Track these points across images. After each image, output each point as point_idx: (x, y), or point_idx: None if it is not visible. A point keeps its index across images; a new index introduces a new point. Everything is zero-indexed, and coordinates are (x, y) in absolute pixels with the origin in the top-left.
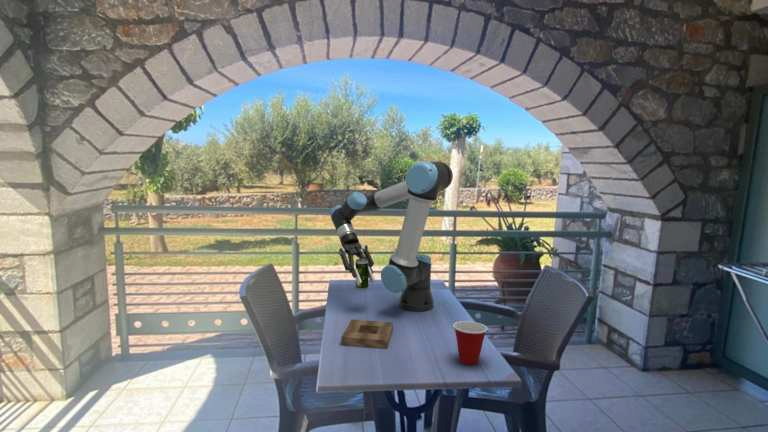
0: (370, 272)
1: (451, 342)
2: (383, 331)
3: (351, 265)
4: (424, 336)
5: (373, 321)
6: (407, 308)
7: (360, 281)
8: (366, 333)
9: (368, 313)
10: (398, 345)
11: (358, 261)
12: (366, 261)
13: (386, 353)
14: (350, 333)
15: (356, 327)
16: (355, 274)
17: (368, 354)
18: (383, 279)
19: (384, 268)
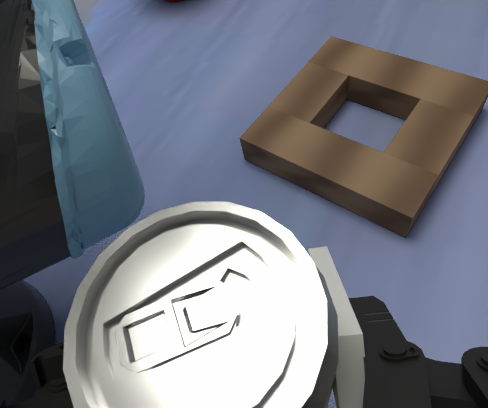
0: None
1: (142, 54)
2: (315, 84)
3: (426, 378)
4: (180, 95)
5: (314, 166)
6: (48, 317)
7: (322, 248)
8: (384, 85)
9: None
10: (287, 69)
11: (304, 251)
12: (154, 228)
13: None
14: (450, 97)
15: (410, 135)
16: (358, 309)
17: (399, 47)
18: (134, 165)
19: (93, 65)
